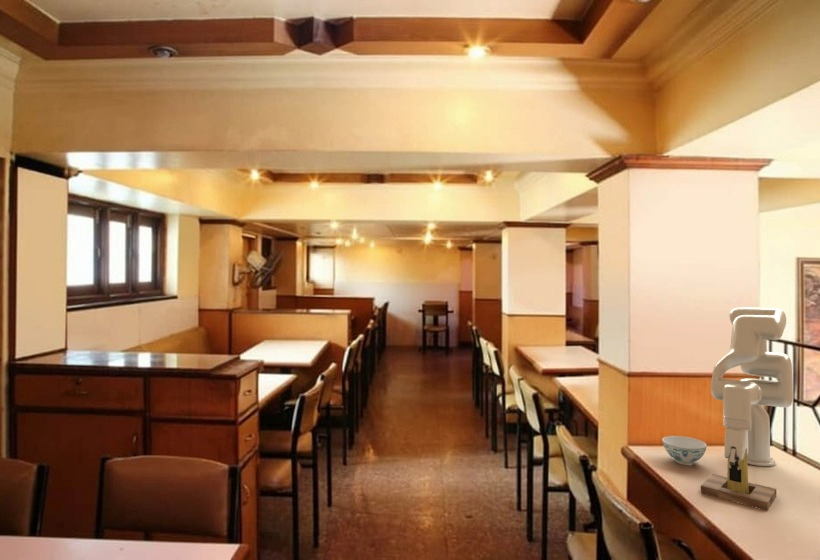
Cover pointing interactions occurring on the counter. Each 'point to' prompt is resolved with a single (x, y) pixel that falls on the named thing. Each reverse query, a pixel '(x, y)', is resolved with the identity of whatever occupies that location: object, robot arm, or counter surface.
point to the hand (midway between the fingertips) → (737, 477)
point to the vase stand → (757, 498)
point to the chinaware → (684, 449)
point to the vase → (742, 486)
